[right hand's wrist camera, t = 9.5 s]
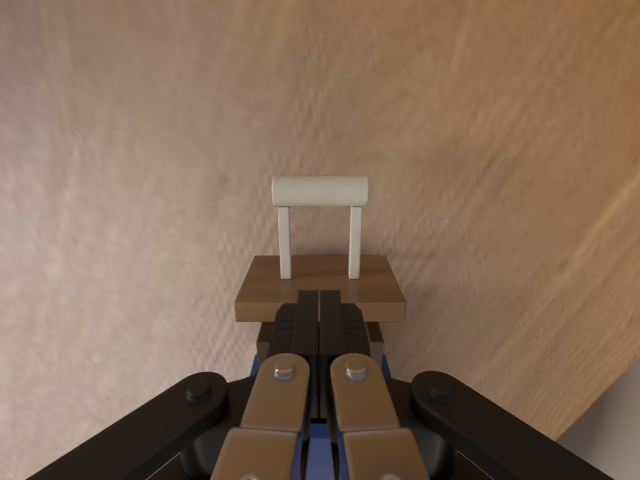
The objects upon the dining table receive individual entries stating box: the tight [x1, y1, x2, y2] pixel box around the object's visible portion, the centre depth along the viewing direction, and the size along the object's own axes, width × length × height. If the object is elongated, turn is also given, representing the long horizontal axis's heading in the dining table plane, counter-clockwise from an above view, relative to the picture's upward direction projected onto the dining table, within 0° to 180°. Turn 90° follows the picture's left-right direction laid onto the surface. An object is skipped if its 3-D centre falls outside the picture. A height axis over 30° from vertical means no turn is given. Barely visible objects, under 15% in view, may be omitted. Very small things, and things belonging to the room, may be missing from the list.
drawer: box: [234, 175, 406, 424], centre depth 23 cm, size 25×9×6 cm, turn 0°
